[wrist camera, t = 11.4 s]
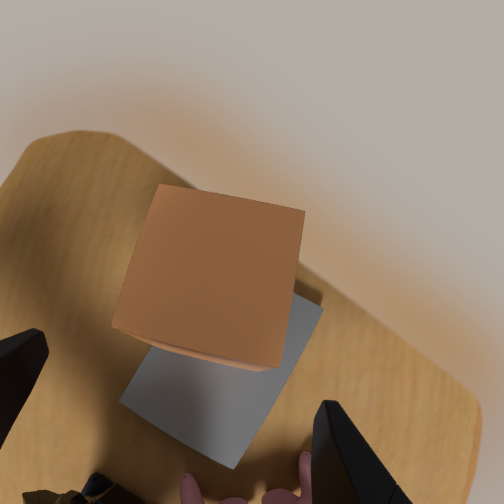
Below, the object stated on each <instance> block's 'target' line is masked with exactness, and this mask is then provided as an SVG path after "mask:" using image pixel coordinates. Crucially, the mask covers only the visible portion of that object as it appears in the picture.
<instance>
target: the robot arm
mask: <svg viewBox="0 0 504 504" xmlns="http://www.w3.org/2000/svg"><path fill="white" fill-rule="evenodd" d="M48 355H49V349H48V345H47V342H46V338H45V334H44V333H43V332H42V331H40V330H38V329H35V328H32V329H29V330H27V331H24V332H21V333H19V334H16V335H13V336H11V337H8V338H6V339H3V340H0V449H1V447H2V445H3V443H4V441H5V439H6V437H7V435H8V433H9V431H10V429H11V427H12V426H13V424H14V422H15V420H16V418H17V416H18V414H19V413H20V411H21V409H22V407H23V406H24V404H25V402H26V400H27V398H28V397H29V395H30V393H31V391H32V389H33V387H34V385H35V383H36V381H37V379H38V377H39V374H40V372H41V370H42V368H43V366H44V364H45V362H46V360H47V358H48ZM95 476H96V477H98V478H99V481H98V480H96V478H95ZM396 484H397V483H396V481H395V480H394V479H393V477H392V476H391V475H390V473H389V472H388V470H387V469H386V468H385V466H384V465H383V464H382V462H381V461H380V459H379V458H378V457H377V455H376V454H375V453H374V451H373V450H372V448H371V447H370V446H369V444H368V443H367V442H366V440H365V439H364V437H363V436H362V435H361V433H360V432H359V430H358V429H357V428H356V426H355V425H354V424H353V422H352V421H351V419H350V418H349V417H348V415H347V414H346V412H345V411H344V410H343V408H342V407H341V405H340V404H339V403H338V402H337V401H335V400H323V401H322V403H321V405H320V407H319V409H318V411H317V413H316V415H315V418H314V424H313V438H312V452H311V492H312V504H413V503H412V502H411V501H410V500H409V498H408V497H407V496H406V495H405V493H404V492H403V491H402V489H401V488H400V487H399V485H396ZM22 497H23V502H24V504H146V503H145V501H143V500H141V499H140V498H138V497H137V496H135V495H133V494H132V493H130V492H129V491H127V490H126V489H124V488H123V487H121V486H120V485H118V484H114V483H113V482H111V481H110V480H108V479H107V478H106V477H104V476H103V475H101V474H100V473H97V472H95V473H93V474H92V475H91V476H90V478H89V479H88V481H87V483H86V485H85V486H84V488H83V490H82V492H81V493H80V492H77V491H74V490H70V491H69V492H67V493H65V494H56V493H54V492H51V491H49V490H38V491H33V492H25V493H22Z"/></svg>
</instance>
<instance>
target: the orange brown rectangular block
mask: <svg viewBox="0 0 504 504" xmlns="http://www.w3.org/2000/svg"><path fill="white" fill-rule="evenodd" d="M304 216H305V211H302V210H298V209H293V208H288V207H284V206H279V205H274V204H269V203H264V202H260V201H255V200H249V199H244V198H239V197H234V196H229V195H223V194H218V193H212V192H207V191H201V190H196V189H190V188H184V187H178V186H172V185H166V184H160V183H159V186H158V188H157V190H156V193H155V195H154V198H153V200H152V203H151V206H150V208H149V211H148V213H147V216H146V219H145V221H144V224H143V227H142V229H141V232H140V235H139V238H138V240H137V243H136V246H135V249H134V252H133V255H132V258H131V261H130V264H129V267H128V270H127V273H126V276H125V279H124V282H123V285H122V289H121V292H120V295H119V298H118V302H117V305H116V309H115V312H114V316H113V319H112V323H111V327H113V328H115V329H117V330H120V331H122V332H124V333H126V334H128V335H131V336H133V337H135V338H137V339H140V340H142V341H144V342H147V343H149V344H151V345H154V346H156V347H158V348H161V349H163V350H166V351H170V352H174V353H177V354H181V355H185V356H189V357H193V358H197V359H201V360H206V361H210V362H214V363H219V364H223V365H228V366H233V367H237V368H242V369H247V370H252V371H258V372H259V371H264V370H270V369H275V368H280V364H281V358H282V353H283V348H284V342H285V337H286V331H287V325H288V320H289V314H290V308H291V302H292V296H293V290H294V284H295V277H296V271H297V265H298V258H299V250H300V245H301V238H302V230H303V224H304Z"/></svg>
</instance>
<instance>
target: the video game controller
mask: <svg viewBox="0 0 504 504" xmlns="http://www.w3.org/2000/svg"><path fill="white" fill-rule="evenodd" d="M299 479H300V487H301V496H300V497H298V496H296V495H294V494H293V493H291V492H290V491H288V490H286V489H274V490H271V491H269V492H267V493H266V494H265V495H264V496H263V497H262V504H312V492H311V454H310V453H309V452H307V451H303V452H301V454H300V456H299ZM180 496H181V504H205V503H204V500H203V497H202V495H201V492H200V489H199V486H198V484H197V482H196V480H195V478H194V476H193V475H192V474H190V473H185V474H184V475H183V476H182V478H181V482H180ZM219 504H248V502H247V501H246V500H244V499H242V498H238V497H230V498H226V499H224V500H222V501H221V502H220V503H219Z"/></svg>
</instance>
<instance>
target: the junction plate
mask: <svg viewBox="0 0 504 504" xmlns="http://www.w3.org/2000/svg"><path fill="white" fill-rule="evenodd" d="M323 310H324V308H322V307H320V306H318V305H316V304H314V303H313V302H311V301H309V300H307V299H305V298H303V297H301V296H299V295H298V294H296V293H294V292H293V296H292V302H291V308H290V314H289V320H288V325H287V331H286V337H285V342H284V348H283V353H282V358H281V364H280V368H275V369H270V370H264V371H259V372H258V371H252V370H247V369H242V368H237V367H233V366H228V365H223V364H219V363H214V362H210V361H206V360H201V359H197V358H193V357H189V356H185V355H181V354H177V353H174V352H170V351H166V350H163V349H161V348H158V347H156V346H154V345H152V347H151V348H150V350H149V352H148V353H147V355H146V356H145V358H144V360H143V361H142V363H141V365H140V366H139V368H138V370H137V371H136V373H135V375H134V376H133V378H132V379H131V381H130V383H129V384H128V386H127V388H126V390H125V391H124V393H123V395H122V396H121V398H120V400H119V402H121V403H122V404H123V405H125V406H126V407H128V408H129V409H130V410H132V411H133V412H135V413H136V414H138V415H139V416H141V417H142V418H144V419H145V420H147V421H148V422H150V423H151V424H153V425H154V426H156V427H157V428H159V429H160V430H162V431H164V432H165V433H167V434H168V435H170V436H172V437H173V438H175V439H177V440H178V441H180V442H182V443H184V444H185V445H187V446H189V447H191V448H192V449H194V450H196V451H198V452H200V453H201V454H203V455H205V456H207V457H209V458H211V459H213V460H215V461H217V462H218V463H220V464H222V465H224V466H226V467H229V468H231V469H233V470H234V468H235V467H236V465H237V464H238V462H239V461H240V459H241V457H242V456H243V454H244V453H245V451H246V450H247V448H248V446H249V445H250V443H251V442H252V440H253V438H254V437H255V435H256V433H257V432H258V430H259V428H260V427H261V425H262V423H263V422H264V420H265V418H266V417H267V415H268V413H269V412H270V410H271V408H272V406H273V405H274V403H275V401H276V399H277V398H278V396H279V394H280V392H281V391H282V389H283V387H284V385H285V383H286V382H287V380H288V378H289V376H290V374H291V372H292V371H293V369H294V367H295V365H296V363H297V361H298V359H299V357H300V356H301V354H302V352H303V350H304V348H305V346H306V344H307V342H308V340H309V338H310V336H311V334H312V332H313V330H314V328H315V326H316V324H317V322H318V320H319V318H320V316H321V314H322V312H323Z"/></svg>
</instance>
